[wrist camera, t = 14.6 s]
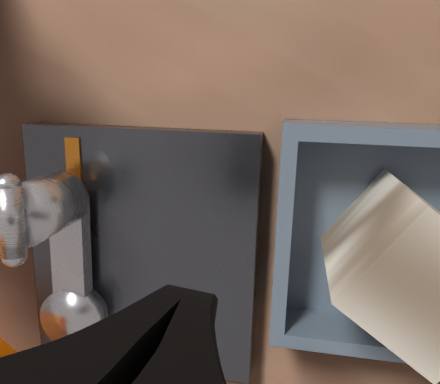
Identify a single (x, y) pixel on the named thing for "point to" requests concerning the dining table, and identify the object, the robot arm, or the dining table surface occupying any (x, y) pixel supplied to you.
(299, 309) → the tray
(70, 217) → the crank
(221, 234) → the crank plate
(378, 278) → the block
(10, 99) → the dining table surface
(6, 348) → the bracket
